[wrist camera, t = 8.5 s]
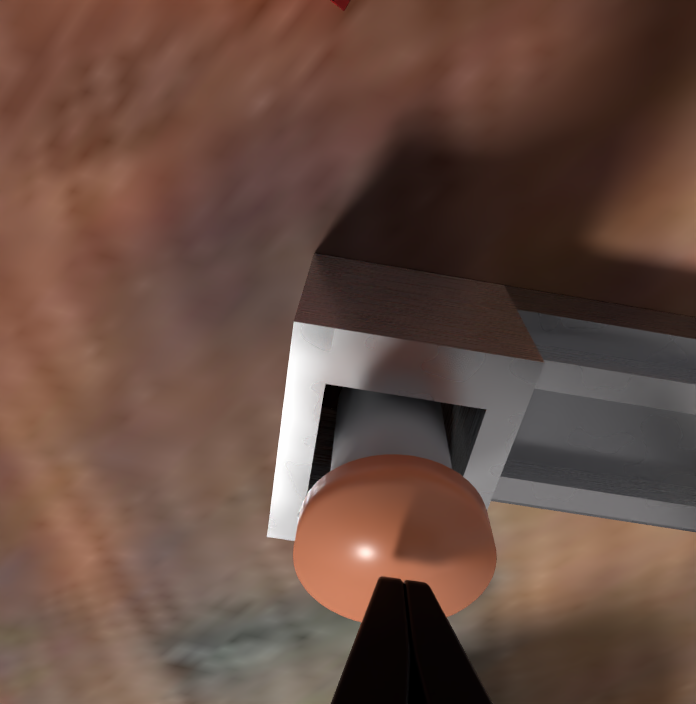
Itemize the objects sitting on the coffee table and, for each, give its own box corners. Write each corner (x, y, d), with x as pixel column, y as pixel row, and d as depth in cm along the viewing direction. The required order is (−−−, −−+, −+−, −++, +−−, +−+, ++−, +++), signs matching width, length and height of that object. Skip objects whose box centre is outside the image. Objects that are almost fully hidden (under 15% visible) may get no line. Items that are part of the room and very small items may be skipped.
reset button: (477, 358, 13) (523, 504, 9) (441, 472, 15) (465, 638, 11) (328, 334, 13) (305, 470, 9) (309, 451, 15) (283, 611, 11)
